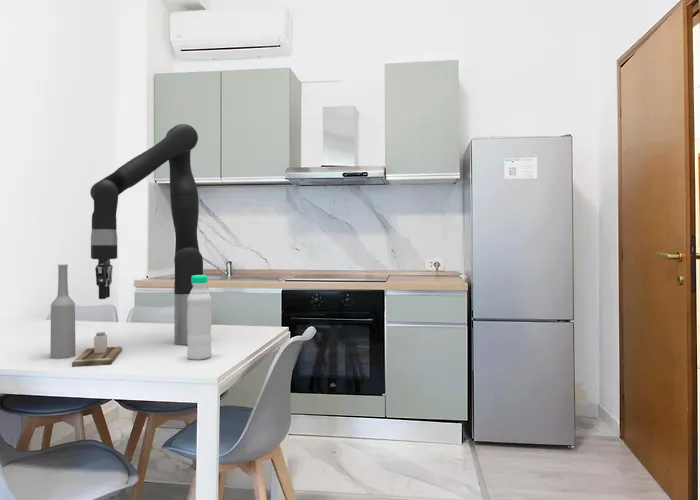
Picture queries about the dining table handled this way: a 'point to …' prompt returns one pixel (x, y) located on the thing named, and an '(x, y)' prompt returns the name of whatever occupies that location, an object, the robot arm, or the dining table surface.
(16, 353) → the dining table surface
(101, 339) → the slider knob
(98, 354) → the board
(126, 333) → the dining table surface
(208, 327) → the water bottle
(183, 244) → the robot arm
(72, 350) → the bottle
